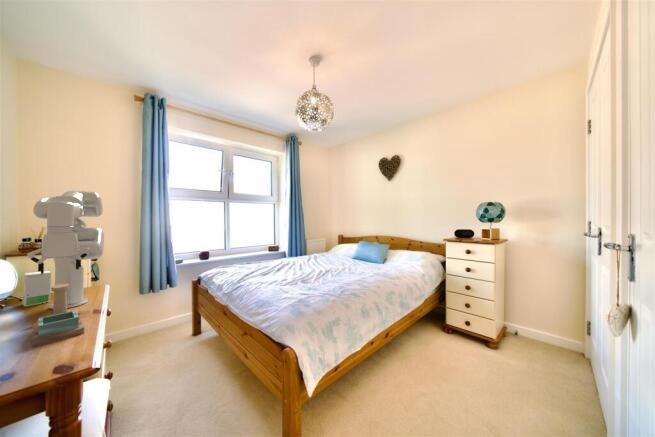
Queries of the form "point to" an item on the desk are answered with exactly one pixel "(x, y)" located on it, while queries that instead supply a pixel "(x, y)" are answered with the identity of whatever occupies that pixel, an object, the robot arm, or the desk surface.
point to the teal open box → (57, 327)
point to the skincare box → (36, 288)
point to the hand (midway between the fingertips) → (60, 270)
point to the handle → (60, 298)
